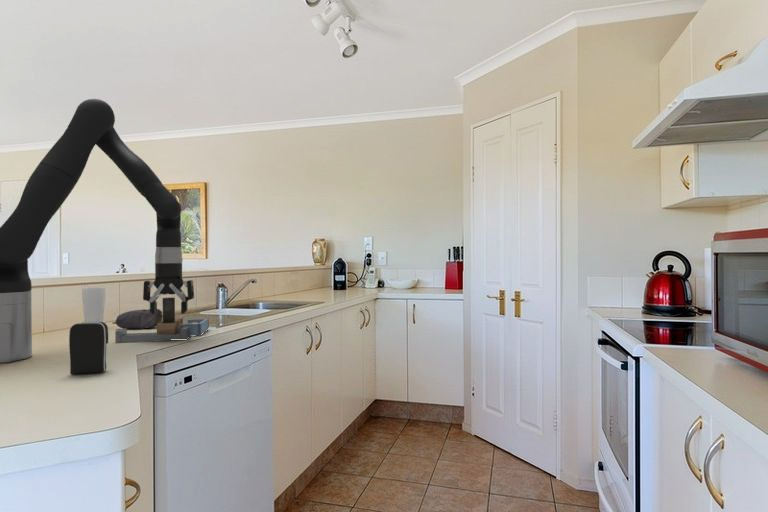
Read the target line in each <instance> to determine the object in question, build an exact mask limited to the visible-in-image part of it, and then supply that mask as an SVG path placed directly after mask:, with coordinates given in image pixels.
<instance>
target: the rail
mask: <svg viewBox="0 0 768 512" xmlns="http://www.w3.org/2000/svg"><path fill="white" fill-rule="evenodd" d="M127 331H128V329H124V328H120V329H118V330H116V331H115V333H114V334H115V335H114V337H115V340H114V341H115V344H116V343H117V344H118V343H119V344H120V343H140V342H139V341H150V342H156V341H155V340H171V339H187V338H188V337H190V338H191V336H190V327H184V328H182V329H181V332H177V333H175V334H157V332H133V333H132V332H131V333H130V332H129V333H128V332H127ZM187 340H188V339H187Z"/></svg>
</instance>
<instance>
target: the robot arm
mask: <svg viewBox="0 0 768 512" xmlns="http://www.w3.org/2000/svg"><path fill="white" fill-rule="evenodd" d="M115 122H116V117H115V113H114V110H113V108H112V106H111V105H110V104H108V102H106V101H104V100H102V99H100V98H99V99H98V98H89V99H86V100H83V101H82V102H81V103H79V105H78V106H77V107H76V110H75V112H74V114H73V116H72V118H71V119H70V122H69V124H68V125H67V127H66V129H65V130H64V132H63V133H62V135H61V136H60V137H59V138H58V139H57V141H56V142H55V143H54V144H53V146H52V147H51V148H50V149H49V150H48V152H46V154H45V156H44V157H43V158H42V159H41V161H40V162H39V163H38V165H37V167H35V168H34V170H33V172H32V173H31V175H30V177H28V180H27V182H26V184H25V187H24V189H23V191H22V195H20V200H19V201H18V204H17V206H16V207H15V209H14V210H13V212H12V213H11V214H10V215H9V217H8V218H7V219H6V221H4V223H3V224H2V225H0V363H1V364H2V363H10V362H14V361H15V362H16V361H21V360H24V359H28V358H31V357H32V356H33V338H32V336H33V334H32V333H33V326H32V325H33V323H32V315H33V314H32V280H31V277H30V275H29V265H28V263H29V260H28V259H30V258H31V256H32V255H33V253H34V252H35V250H36V248H37V246H38V244H39V241H40V239H41V237H42V235H43V233H44V231H45V229H46V228H47V225H48V224H49V222H50V220H52V218H53V216H55V214H56V213H57V212H58V210H59V209H60V208H61V206H63V204H64V203H65V201H66V200H67V198H68V197H69V195H70V194H71V193H72V191H73V189H74V188H75V187H76V185H77V183H78V182H79V180H80V178H81V176H82V175H83V172H84V170H85V167H86V165H87V163H88V161H89V158H90V155H91V153H92V151H93V149H94V147H95V146H97V147H98V148H99V149H100V150H101V151H102V152H103V153H104V154H105V155H106V156H107V157H108V158H109V159H110V160H111V161H112V162H113V163H114V164H115V166H116V167H117V168H118V169H119V170H120V171H121V172H122V174H123V175H124V176H125V177H126V179H127V180H128V181H129V182H130V183H131V184H132V186H133V187H134V188H135V190H136V191H137V193H139V194H140V195H141V196H142V197H143V198H145V200H146V201H147V202H148V204H149V205H150V206H151V208H152V209H154V211H155V213H156V228H157V229H156V234H155V254H154V266H155V267H154V272H155V273H154V276H155V277H154V281H153V280H152V281H151V280H145V281H144V282H143V289H142V291H143V292H142V300H143V301H147V302H148V303H149V309H150V312H151V313H152V314H157V309H158V301H157V300H158V299H159V298H160V297H161V295H162V296H163V295H176V296H177V297H178V298H179V299H180V301H181V302H180V306H181V307H180V311H181V312H180V313H181V314H182V315H184V314H186V313H187V312H188V310H189V309H188V303H189V301H190V300H193V299H194V298H195V289H194V287H195V286H194V280H192V279H190V280H183V253H182V251H183V250H182V234H181V216H182V215H181V213H182V206H181V204H180V202H179V200H178V199H177V198H176V197H175V196H174V195H173V194H172V193H171V192H170V190H168V188H167V187H166V186H165V185H164V184H163V183H162V180H160V178H159V177H158V176H157V174H156V173H155V172H154V171H153V170H152V168H151V167H150V166H149V165H148V164H147V162H145V161H144V160H143V159H142V158H141V157H140V156H138V154H136V153H135V152H134V151H132V150H131V148H129V146H128V145H126V143H124V141H123V140H122V138H121V137H120V135H119V134H118V132H117V131H116V129H115V127H114V125H115ZM183 286H184V287H185V288H187V290H186V291H187V295H186V294H185V292H184V291H183V290H182V287H183ZM153 287H155V288H156V290H155V291H154V293H153V294H152V296H151V291H152V289H153Z"/></svg>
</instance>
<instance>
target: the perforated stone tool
mask: <svg viewBox="0 0 768 512" xmlns="http://www.w3.org/2000/svg"><path fill="white" fill-rule="evenodd" d="M162 321H163V310H161V309H159V308H157V314H152V313H151V312H150V308H149V309H135V310H130V311H126V312H123V313H120V314H119V315H117V317H116V320H115V324H116V326H117V327H118V328H120V329H127V330H128V329H129V330H130V329H131V330H143V329H145V328H149V329H152V328H153V329H154V328H157V324H158V323H160V322H162Z"/></svg>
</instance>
